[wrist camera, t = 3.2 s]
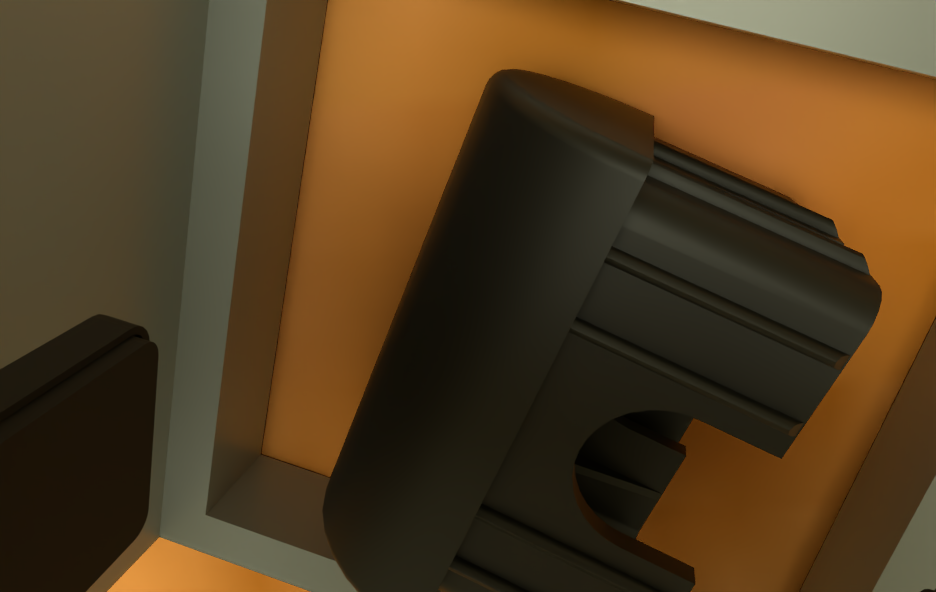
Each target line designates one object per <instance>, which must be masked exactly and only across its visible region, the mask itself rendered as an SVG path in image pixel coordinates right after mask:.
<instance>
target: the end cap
mask: <svg viewBox="0 0 936 592" xmlns="http://www.w3.org/2000/svg"><path fill="white" fill-rule="evenodd" d="M881 298H882V291H881V288H880V286H879V285H878V283H877V282H876V281H875V280H874V279H873V277H872V276H871V275H870V273H869V269H868V266H867V263H866V260H865V257H864V255H863V254H862V253H859V252H857V251H855V250H853V249H851V248H848V247H846V246H844V243H843V242H842V241H841V240H840V238H839V237H838V233H837V230H836V227H835V224H834V222H833V220H831V219H829V218H827V217H824V216H822V215H820V214H818V213H815V212H813V211H811V210H809V209H807V208H804V207H802V206H800V205H798V204H797V203H795V202H794V201H793V200H792V199H790V198H789V197H787V196H785V195H783V194H781V193H778V192H776V191H774V190H772V189H769V188H767V187H765V186H763V185H760V184H758V183H756V182H754V181H751V180H749V179H747V178H745V177H743V176H740V175H738V174H736V173H734V172H731V171H729V170H727V169H725V168H722V167H720V166H718V165H716V164H713V163H711V162H709V161H707V160H704V159H702V158H700V157H698V156H696V155H693V154H691V153H689V152H687V151H684V150H682V149H680V148H678V147H675V146H673V145H671V144H669V143H666V142H664V141H662V140H660V139H658V138H655V137H654V116H652V115H650V114H647V113H645V112H643V111H640V110H638V109H636V108H634V107H631V106H629V105H626V104H624V103H621V102H619V101H616V100H614V99H612V98H609V97H607V96H604V95H601V94H599V93H596V92H593V91H591V90H588V89H586V88H583V87H580V86H577V85H574V84H571V83H568V82H565V81H562V80H559V79H555V78H552V77H549V76H546V75H542V74H538V73H534V72H530V71H525V70H518V69H510V70H501V71H499V72H497V73H495V74H494V75H493V76H492V77H491V78H490V79H489V81H488V82H487V84H486V86H485V89H484V92H483V94H482V97H481V99H480V102H479V104H478V107H477V109H476V112H475V114H474V117H473V119H472V122H471V124H470V127H469V129H468V132H467V134H466V137H465V139H464V142H463V144H462V147H461V150H460V152H459V155H458V157H457V160H456V162H455V165H454V167H453V170H452V172H451V175H450V177H449V180H448V182H447V185H446V187H445V190H444V192H443V195H442V197H441V200H440V202H439V205H438V208H437V210H436V213H435V215H434V218H433V220H432V223H431V225H430V228H429V230H428V233H427V235H426V238H425V240H424V243H423V245H422V248H421V250H420V253H419V255H418V258H417V261H416V263H415V266H414V268H413V271H412V273H411V276H410V278H409V281H408V283H407V286H406V288H405V291H404V293H403V296H402V298H401V301H400V303H399V306H398V308H397V311H396V313H395V316H394V319H393V321H392V324H391V326H390V329H389V331H388V334H387V336H386V339H385V341H384V344H383V346H382V349H381V351H380V354H379V356H378V359H377V361H376V364H375V366H374V369H373V371H372V374H371V377H370V379H369V382H368V384H367V387H366V389H365V392H364V394H363V397H362V399H361V402H360V404H359V407H358V409H357V412H356V414H355V417H354V419H353V422H352V424H351V427H350V429H349V432H348V435H347V437H346V440H345V442H344V445H343V447H342V450H341V452H340V455H339V457H338V460H337V462H336V465H335V467H334V470H333V472H332V475H331V477H330V480H329V482H328V485H327V487H326V492H325V498H324V503H323V509H322V513H323V523H324V532H325V535H326V538H327V541H328V544H329V547H330V549H331V552H332V555H333V557H334V559H335V561H336V562H337V564H338V566H339V567H340V569H341V571H342V572H343V574H344V576H345V577H346V579H347V580H348V581H349V582H350V583H351V585H352V586H353V587H354V588H355V589H356V590H357V592H437V591H438V590H440V591H442V592H690V591H691V590H692V588H693V587H694V585H695V575H694V568H693V567H691V566H689V565H687V564H685V563H683V562H681V561H679V560H677V559H674V558H672V557H670V556H668V555H666V554H664V553H662V552H660V551H658V550H656V549H654V548H652V547H650V546H648V545H646V544H644V543H642V542H639V541H637V540H635V539H636V537H637V534H638V532H639V531H640V529H641V527H642V526H643V524H644V523H645V521H646V519H647V518H648V516H649V515H650V513H651V511H652V510H653V508H654V507H655V505H656V503H657V502H658V500H659V499H660V497H661V495H662V494H663V492H664V491H665V489H666V487H667V486H668V484H669V482H670V481H671V479H672V478H673V476H674V474H675V473H676V471H677V470H678V468H679V466H680V465H681V463H682V462H683V460H684V458H685V457H686V448H685V446H684V445H682V444H680V443H678V442H679V441H680V439H681V437H682V436H683V434H684V433H685V431H686V429H687V428H688V426H689V424H690V423H691V421H692V420H693V418H695V419H698V420H700V421H702V422H704V423H707V424H709V425H711V426H713V427H715V428H717V429H719V430H721V431H724V432H726V433H728V434H730V435H732V436H734V437H736V438H738V439H740V440H743V441H745V442H747V443H749V444H751V445H753V446H755V447H757V448H760V449H762V450H764V451H766V452H768V453H770V454H772V455H774V456H777V457H779V458H781V459H782V457H783V456H784V454H785V453H786V451H787V450H788V449H789V447H790V446H791V444H792V443H793V441H794V440H795V438H796V437H797V435H798V434H799V433H800V431H801V430H802V428H803V427H804V425H805V424H806V422H807V421H808V419H809V418H810V417H811V415H812V414H813V412H814V411H815V409H816V408H817V406H818V405H819V403H820V402H821V401H822V399H823V398H824V396H825V395H826V393H827V392H828V390H829V389H830V387H831V386H832V385H833V383H834V382H835V380H836V379H837V377H838V376H839V374H840V373H841V371H842V370H843V369H844V367H845V366H846V364H847V363H848V361H849V360H850V358H851V357H852V355H853V354H854V353H855V351H856V350H857V348H858V347H859V345H860V344H861V342H862V341H863V340H864V338H865V337H866V335H867V333H868V332H869V330H870V328H871V327H872V325H873V323H874V321H875V319H876V316H877V314H878V312H879V308H880V304H881Z"/></svg>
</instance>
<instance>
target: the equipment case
mask: <svg viewBox="0 0 936 592" xmlns="http://www.w3.org/2000/svg"><path fill="white" fill-rule="evenodd" d="M611 1H615V2H619V3H623V4H627V5H631V6H636V7H640V8H644V9H648V10H652V11H656V12H660V13H664V14H669V15H673V16H677V17H681V18H685V19H689V20H693V21H697V22H702V23H706V24H710V25H714V26H718V27H722V28H726V29H730V30H735V31H739V32H743V33H747V34H751V35H755V36H759V37H763V38H767V39H772V40H776V41H780V42H784V43H788V44H792V45H796V46H800V47H805V48H809V49H813V50H817V51H821V52H825V53H829V54H833V55H838V56H842V57H846V58H850V59H854V60H858V61H862V62H866V63H871V64H875V65H879V66H883V67H887V68H891V69H895V70H899V71H903V72H908V73H912V74H916V75H920V76H924V77H928V78H932V79H936V0H611ZM326 7H327V0H0V369H1V368H3V367H5V366H7V365H8V364H10V363H12V362H14V361H15V360H17V359H19V358H21V357H22V356H24V355H26V354H28V353H29V352H31V351H33V350H35V349H36V348H38V347H40V346H42V345H43V344H45V343H47V342H48V341H50V340H52V339H54V338H55V337H57V336H59V335H61V334H62V333H64V332H66V331H68V330H69V329H71V328H73V327H75V326H76V325H78V324H80V323H82V322H83V321H85V320H87V319H89V318H90V317H92V316H95V315H97V314H103V315H107V316H111V317H114V318H117V319H120V320H123V321H126V322H130V323H133V324H136V325H139V326H142V327H144V328H145V329H146V330H147V332H148V334H149V339H150V341H151V342H154V343H155V344H156V345H157V347H158V352H159V358H158V373H157V389H156V404H155V420H154V435H153V450H152V466H151V481H150V497H149V510H148V516H147V519H146V522H145V524H144V526H143V529H142V530H141V532H140V534H139V535H138V537H137V538H136V539H135V540H134V542H133V543H132V544H131V545H130V546H129V547H128V548H127V549H126V550H125V551H124V552H123V553H122V554H121V555H120V556H119V557H118V558H117V560H116V561H115V562H114V563H113V564H112V565H111V566H110V567H109V568H108V569H107V570H106V571H105V572H104V573H103V574H102V575H101V576H100V577H99V579H98V580H97V581H96V582H95V583H94V584H93V585H92V586H91V587H90V588H89V589H88V590H87V591H86V592H107V591H108V590H109V589H110V588H111V587H112V586H113V584H114V583H115V582H116V581H117V580H118V579H119V578H120V577H121V576H122V575H123V574H124V573H125V572H126V571H127V570H128V569H129V568H130V567H131V566H132V565H133V564H134V563H135V562H136V561H137V560H138V559H139V557H140V556H141V555H142V554H143V553H144V552H145V551H146V550H147V549H148V548H149V547H150V546H151V545H152V544H153V543H154V542H155V541H156V540H157V539H158V538H159V537H161V538H164V539H167V540H170V541H172V542H175V543H178V544H181V545H184V546H186V547H189V548H192V549H195V550H197V551H200V552H203V553H206V554H208V555H211V556H214V557H217V558H219V559H222V560H225V561H228V562H231V563H233V564H236V565H239V566H242V567H244V568H247V569H250V570H253V571H255V572H258V573H261V574H264V575H267V576H269V577H272V578H275V579H278V580H280V581H283V582H286V583H289V584H291V585H294V586H297V587H300V588H303V589H305V590H308V591H311V592H357V590H356V589H355V588H354V587H353V586H352V585H351V583H350V582H349V581H348V580H347V579H346V577H345V576H344V574H343V572H342V571H341V569H340V567H339V566H338V564H337V562H336V561H335V559H334V557H333V555H332V552H331V549H330V547H329V544H328V541H327V538H326V535H325V532H324V523H323V513H322V509H323V503H324V498H325V492H326V487H327V485H328V482H329V480H330V478H329V477H326V476H323V475H320V474H317V473H314V472H311V471H308V470H305V469H302V468H299V467H296V466H293V465H290V464H287V463H284V462H282V461H279V460H276V459H273V458H270V457H267V456H264V455H261V449H262V442H263V435H264V428H265V421H266V415H267V408H268V401H269V394H270V387H271V381H272V374H273V367H274V360H275V353H276V347H277V340H278V333H279V326H280V319H281V313H282V306H283V299H284V292H285V286H286V279H287V272H288V265H289V258H290V252H291V245H292V238H293V231H294V224H295V218H296V211H297V204H298V197H299V190H300V184H301V177H302V170H303V163H304V156H305V150H306V143H307V136H308V129H309V122H310V116H311V109H312V102H313V95H314V88H315V82H316V75H317V68H318V61H319V54H320V48H321V41H322V34H323V27H324V20H325V14H326ZM924 589H932V590H935V589H936V319H935V321H934V323H933V325H932V327H931V329H930V331H929V333H928V335H927V337H926V339H925V341H924V343H923V345H922V347H921V349H920V351H919V353H918V355H917V357H916V359H915V361H914V363H913V365H912V367H911V369H910V371H909V373H908V375H907V377H906V379H905V381H904V383H903V385H902V387H901V389H900V391H899V393H898V395H897V397H896V399H895V401H894V403H893V405H892V407H891V409H890V411H889V413H888V415H887V417H886V419H885V421H884V423H883V425H882V427H881V429H880V431H879V433H878V435H877V437H876V439H875V441H874V443H873V445H872V447H871V449H870V451H869V453H868V455H867V457H866V459H865V461H864V463H863V465H862V467H861V469H860V471H859V473H858V475H857V477H856V479H855V481H854V483H853V485H852V487H851V489H850V491H849V493H848V495H847V497H846V499H845V501H844V503H843V505H842V507H841V509H840V511H839V513H838V515H837V517H836V519H835V521H834V523H833V525H832V527H831V529H830V531H829V533H828V535H827V537H826V539H825V541H824V543H823V545H822V547H821V549H820V551H819V553H818V555H817V557H816V559H815V561H814V563H813V565H812V567H811V570H810V572H809V574H808V576H807V578H806V580H805V582H804V584H803V586H802V588H801V590H800V592H920V591H922V590H924ZM437 592H442V591H440V590H438V591H437Z"/></svg>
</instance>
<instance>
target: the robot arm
mask: <svg viewBox="0 0 936 592" xmlns="http://www.w3.org/2000/svg"><path fill="white" fill-rule="evenodd" d="M158 358H159V352H158V347H157V345H156V344H155V343H154V342H151V341H150V339H149V334H148V332H147V330H146V329H145V328H144V327H142V326H139V325H136V324H133V323H130V322H126V321H123V320H120V319H117V318H114V317H111V316H107V315H103V314H97V315H95V316H92V317H90V318H89V319H87V320H85V321H83V322H82V323H80V324H78V325H76V326H75V327H73V328H71V329H69V330H68V331H66V332H64V333H62V334H61V335H59V336H57V337H55V338H54V339H52V340H50V341H48V342H47V343H45V344H43V345H42V346H40V347H38V348H36V349H35V350H33V351H31V352H29V353H28V354H26V355H24V356H22V357H21V358H19V359H17V360H15V361H14V362H12V363H10V364H8V365H7V366H5V367H3V368H1V369H0V592H86V591H87V590H88V589H89V588H90V587H91V586H92V585H93V584H94V583H95V582H96V581H97V580H98V579H99V577H100V576H101V575H102V574H103V573H104V572H105V571H106V570H107V569H108V568H109V567H110V566H111V565H112V564H113V563H114V562H115V561H116V560H117V558H118V557H119V556H120V555H121V554H122V553H123V552H124V551H125V550H126V549H127V548H128V547H129V546H130V545H131V544H132V543H133V542H134V540H135V539H136V538H137V537H138V535H139V534H140V532H141V530H142V529H143V526H144V524H145V522H146V519H147V516H148V510H149V497H150V481H151V466H152V450H153V435H154V420H155V404H156V389H157V373H158ZM920 592H936V589H935V590H932V589H924V590H922V591H920Z"/></svg>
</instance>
